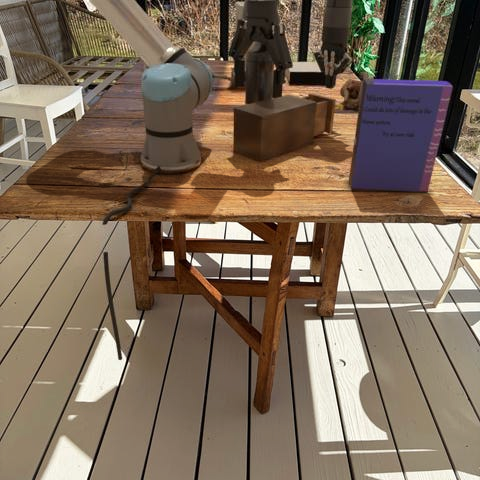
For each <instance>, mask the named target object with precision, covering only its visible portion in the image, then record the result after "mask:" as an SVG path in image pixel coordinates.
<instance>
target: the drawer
mask: <svg viewBox="0 0 480 480" xmlns="http://www.w3.org/2000/svg"><path fill="white" fill-rule="evenodd" d="M301 98H304V99H307V100H311V101H315V102H317V107H316V118H315V128H314V137H316V136H319V135H322V134H324V133H327V134H332V133H333V128H334V118H335V111H337V110H339V111H343V109H344V105H343V104H341V103H337V100H336V98H331V97H329V96H328V97H327V96H324V95H320V94H315V93H312V92H310V93H307V95H306V96H302V97H301Z"/></svg>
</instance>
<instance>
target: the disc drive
mask: <svg viewBox="0 0 480 480" xmlns="http://www.w3.org/2000/svg"><path fill="white" fill-rule="evenodd" d="M292 63H293V67H292V68H289V69H286V71H285V77H286V79H287V80H288V84H289V85H325V78H326V75H325V73H324V72H321V71H320V68H319V66H318V64H317V61H292Z"/></svg>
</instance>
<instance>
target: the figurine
mask: <svg viewBox="0 0 480 480" xmlns="http://www.w3.org/2000/svg"><path fill="white" fill-rule="evenodd" d="M230 69H231V72H230V73H231V74H230V76H229V75H225V74H213V73H211V74H212V78H213V79H215V78H216V79H223V80H227V81H229V84H228V88H229V89H241V88H245V86H246V71H245V80H244V86H242V87H238V88H236V87H235V73H234V67H232V66H231V67H230ZM213 83H214V80H213ZM286 83H287V80H286V79H285V82H284V84H286Z"/></svg>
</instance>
